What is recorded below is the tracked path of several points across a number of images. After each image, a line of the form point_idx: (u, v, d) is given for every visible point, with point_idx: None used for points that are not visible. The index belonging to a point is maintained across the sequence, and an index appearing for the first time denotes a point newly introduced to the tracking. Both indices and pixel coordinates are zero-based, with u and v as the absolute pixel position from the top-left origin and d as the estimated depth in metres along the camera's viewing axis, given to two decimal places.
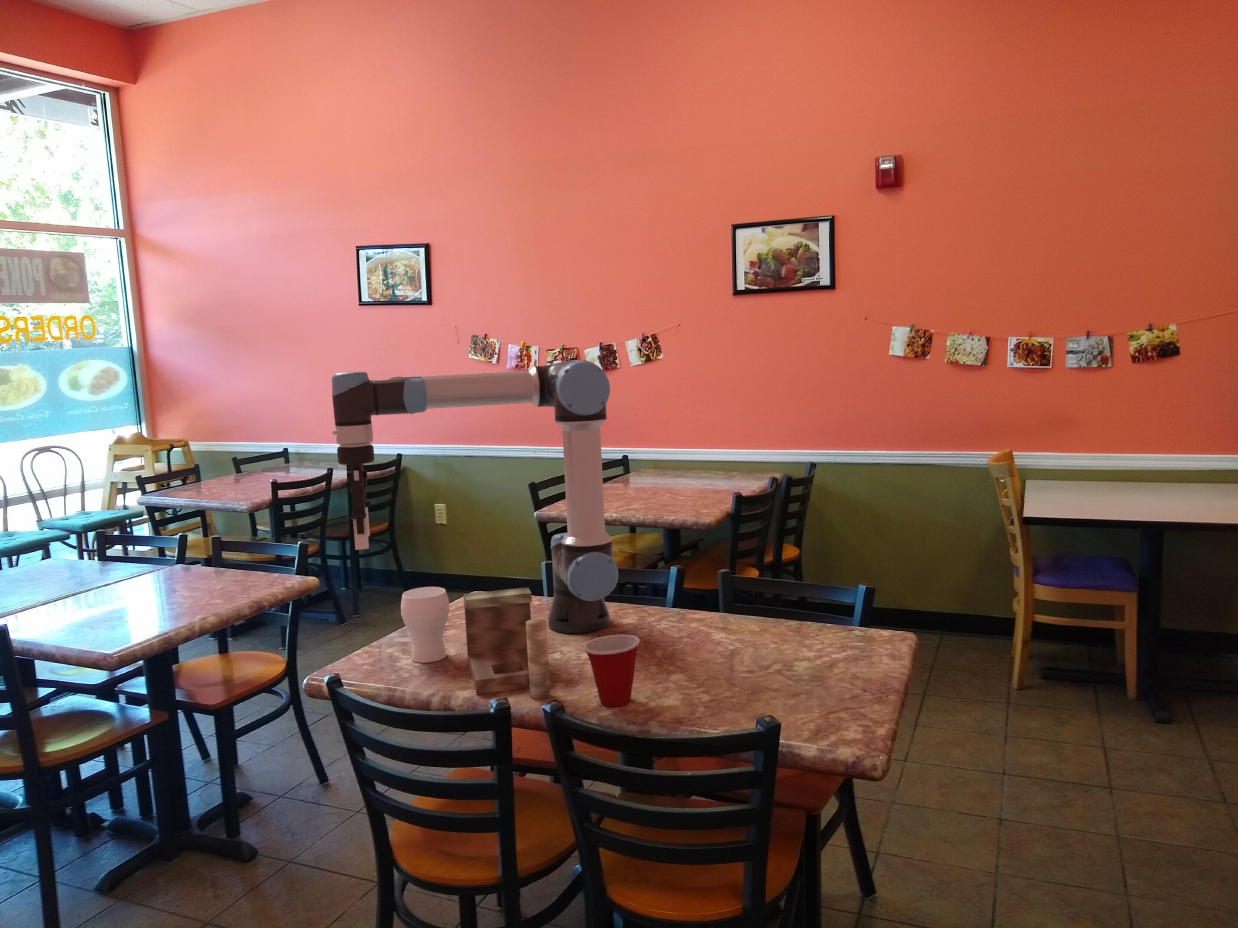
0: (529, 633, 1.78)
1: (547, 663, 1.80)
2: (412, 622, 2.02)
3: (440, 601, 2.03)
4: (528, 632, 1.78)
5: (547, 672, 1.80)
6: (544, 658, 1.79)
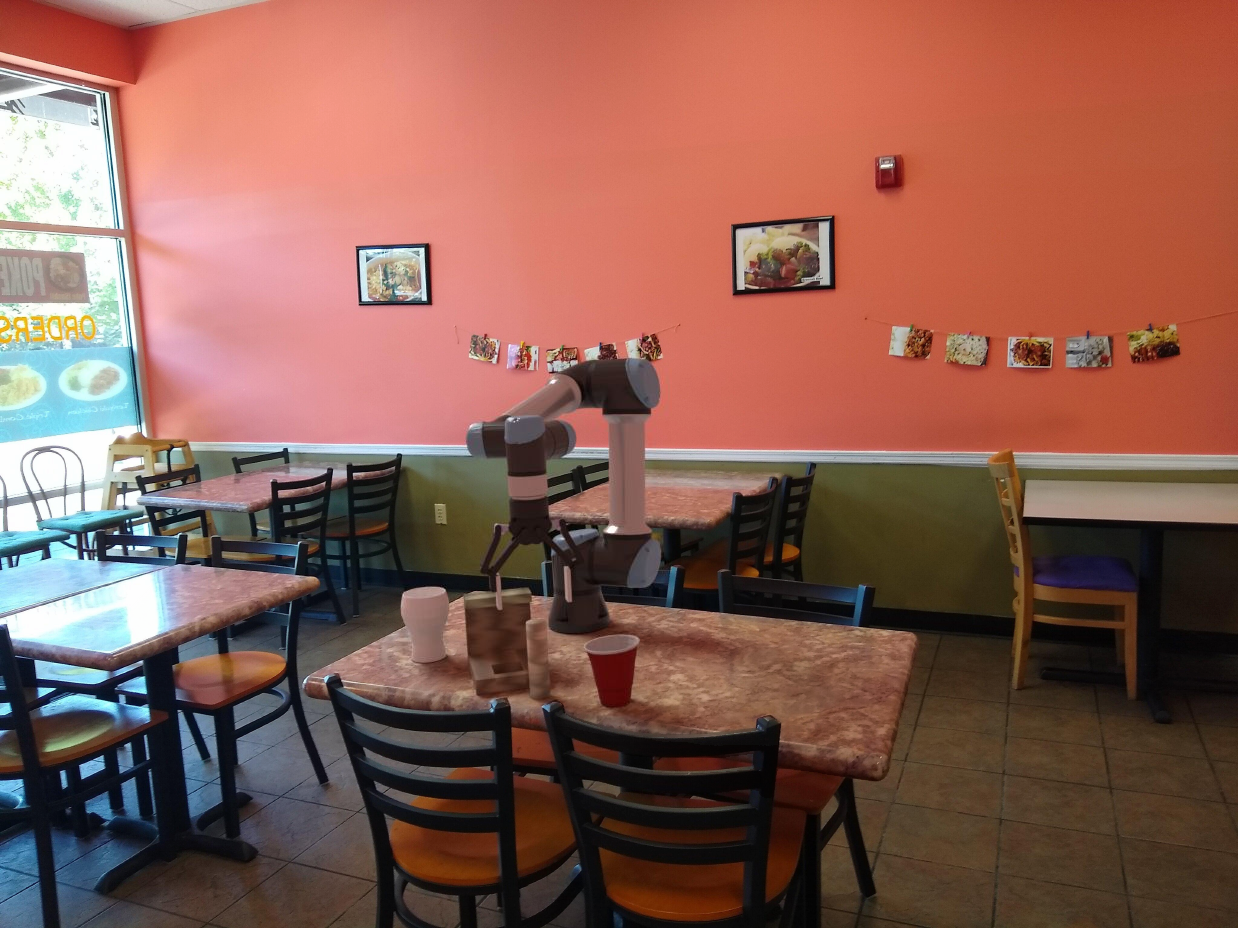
0: (529, 633, 1.78)
1: (547, 663, 1.80)
2: (412, 622, 2.02)
3: (440, 601, 2.03)
4: (528, 632, 1.78)
5: (547, 672, 1.80)
6: (544, 658, 1.79)
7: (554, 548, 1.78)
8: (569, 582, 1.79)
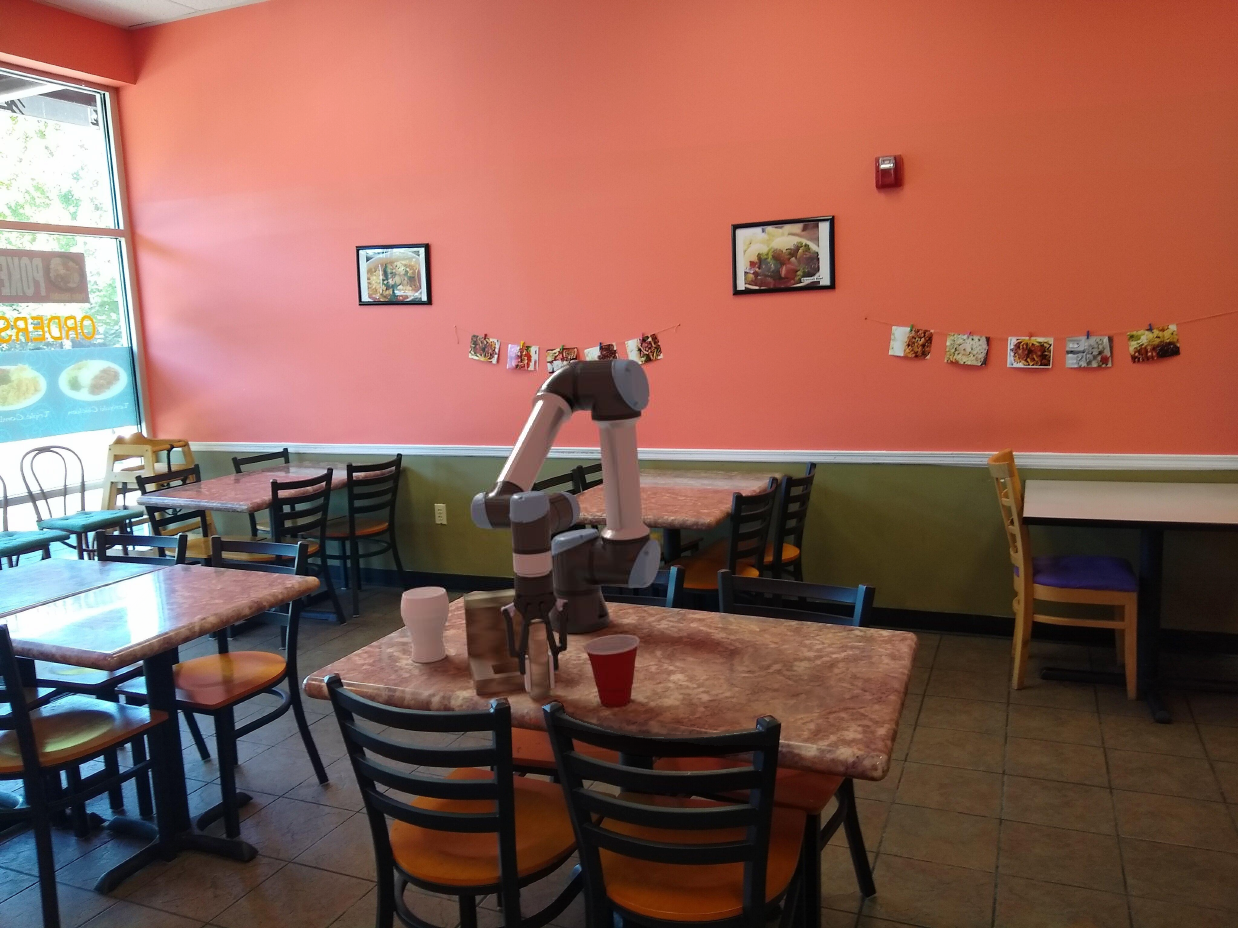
0: (529, 633, 1.78)
1: (547, 663, 1.80)
2: (412, 622, 2.02)
3: (440, 601, 2.03)
4: None
5: (547, 672, 1.80)
6: (544, 657, 1.79)
7: (547, 629, 1.79)
8: (552, 669, 1.80)
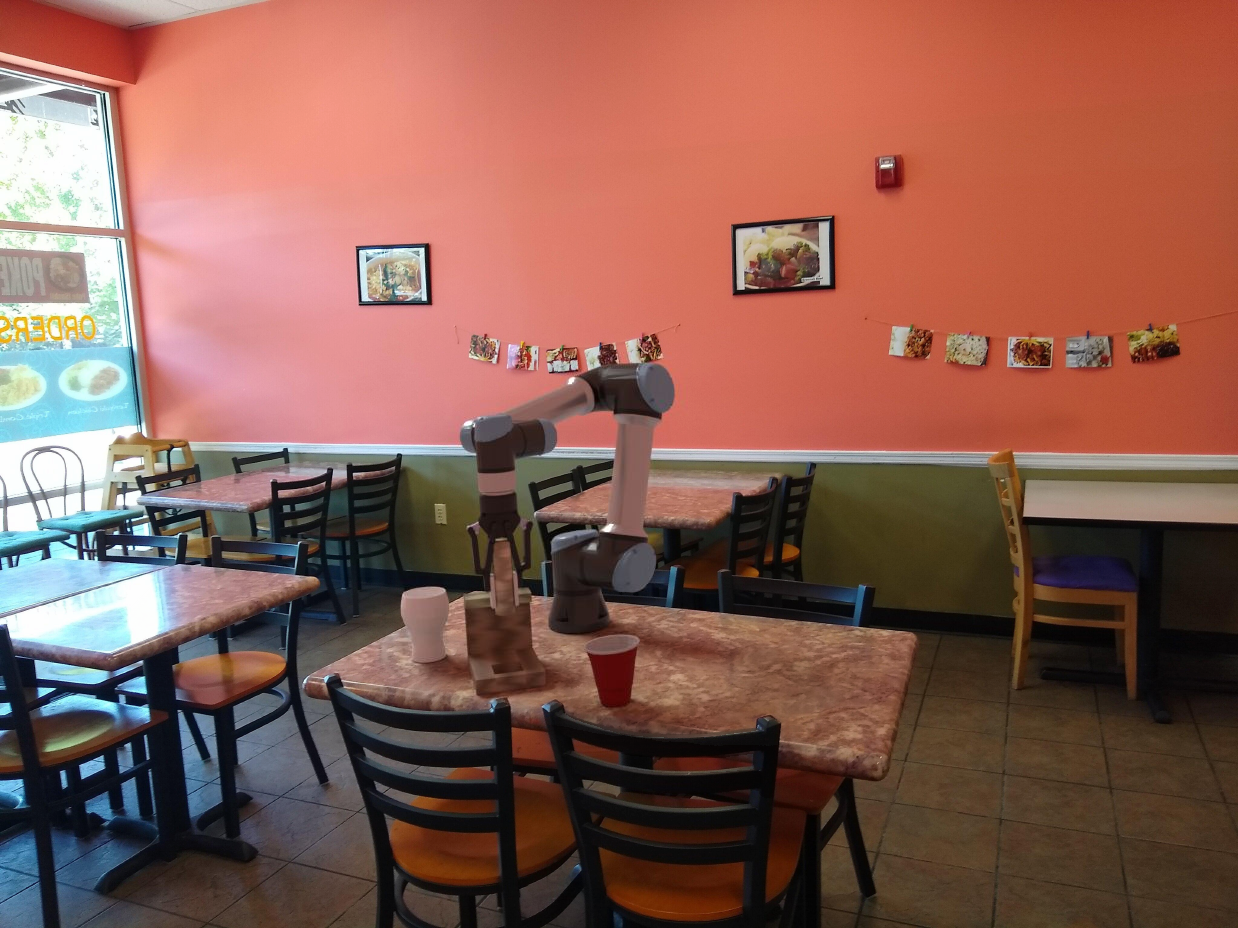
0: (494, 551, 1.85)
1: (511, 580, 1.86)
2: (412, 622, 2.02)
3: (440, 601, 2.03)
4: None
5: (511, 589, 1.86)
6: (508, 575, 1.85)
7: (512, 547, 1.85)
8: (516, 586, 1.86)
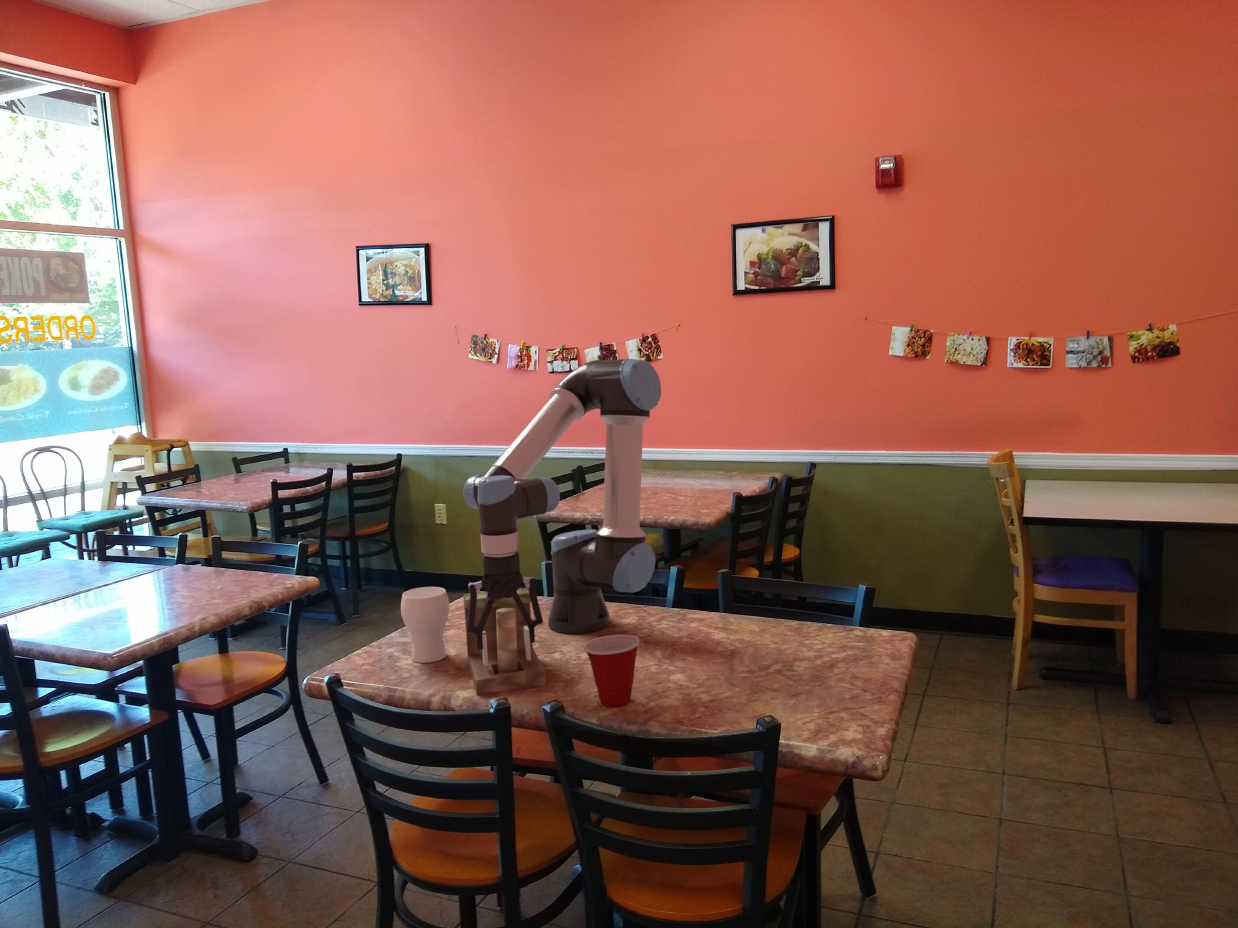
0: (499, 621, 1.87)
1: (515, 650, 1.88)
2: (412, 622, 2.02)
3: (440, 601, 2.03)
4: (498, 620, 1.87)
5: (515, 659, 1.88)
6: (512, 645, 1.87)
7: (519, 605, 1.87)
8: (528, 641, 1.89)
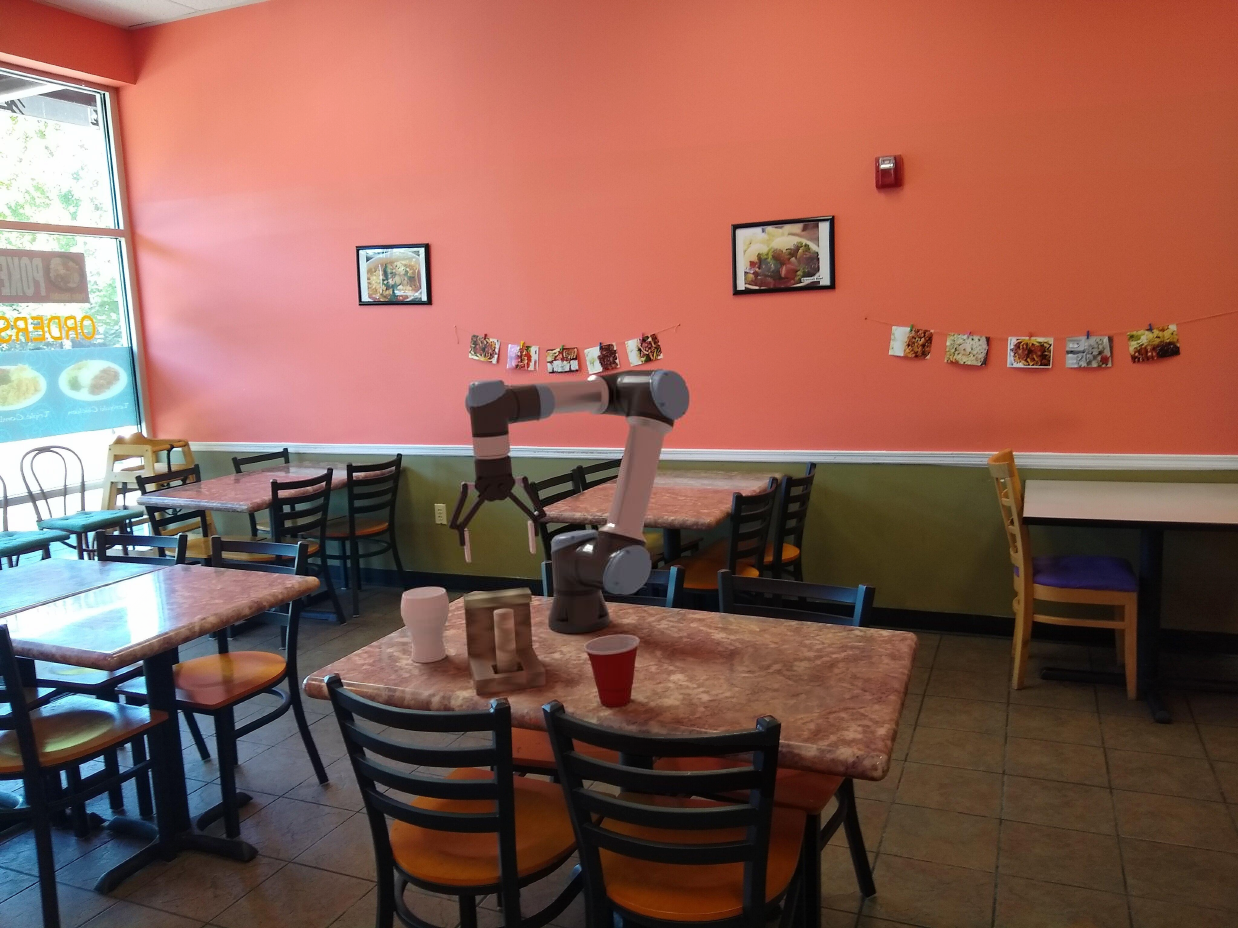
0: (496, 622, 1.87)
1: (514, 650, 1.88)
2: (412, 622, 2.02)
3: (440, 601, 2.03)
4: (495, 621, 1.87)
5: (514, 659, 1.88)
6: (511, 645, 1.87)
7: (518, 503, 1.91)
8: (533, 535, 1.92)
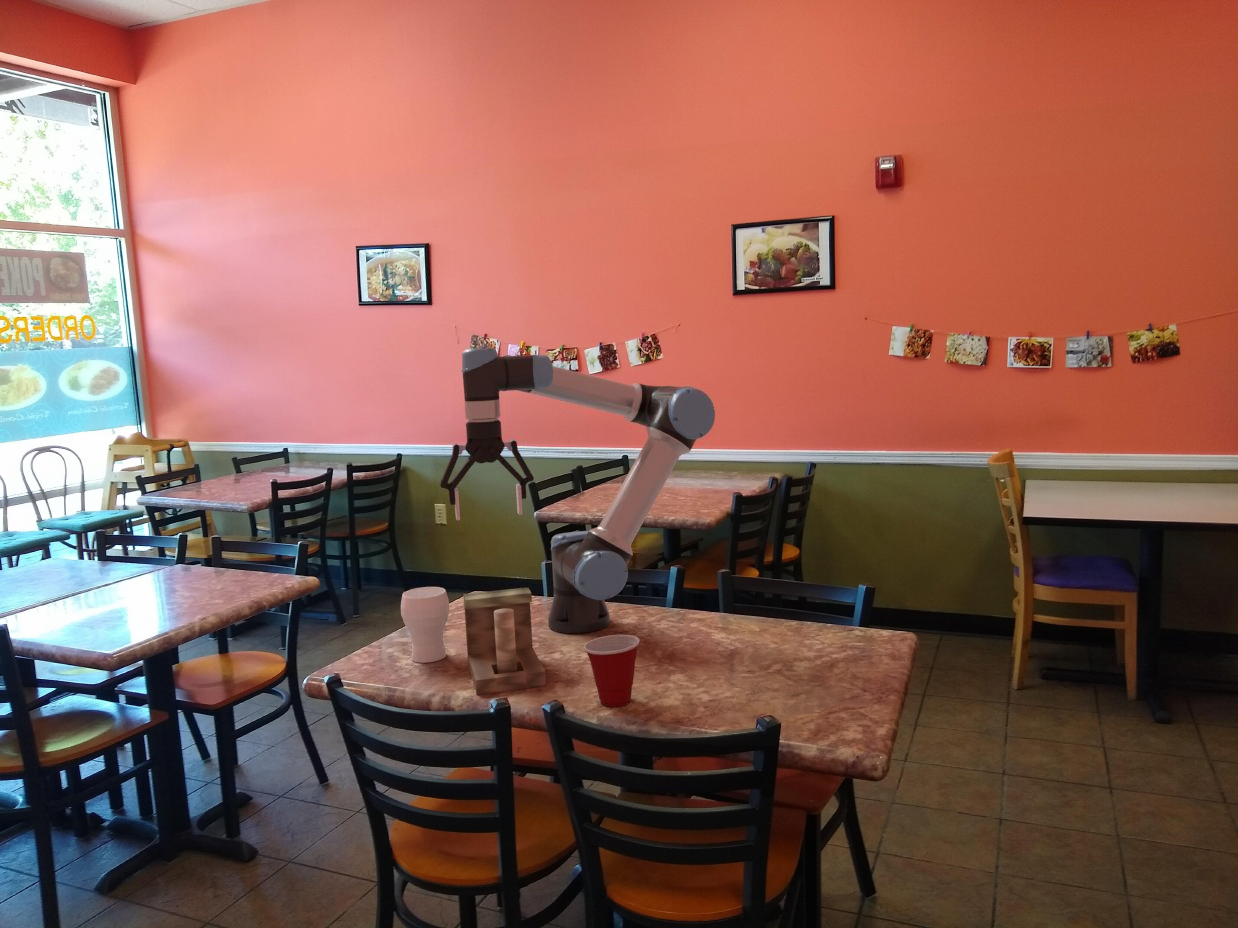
0: (497, 622, 1.87)
1: (514, 650, 1.88)
2: (412, 622, 2.02)
3: (440, 601, 2.03)
4: (496, 621, 1.87)
5: (514, 659, 1.88)
6: (511, 645, 1.87)
7: (506, 466, 2.01)
8: (520, 497, 2.02)
